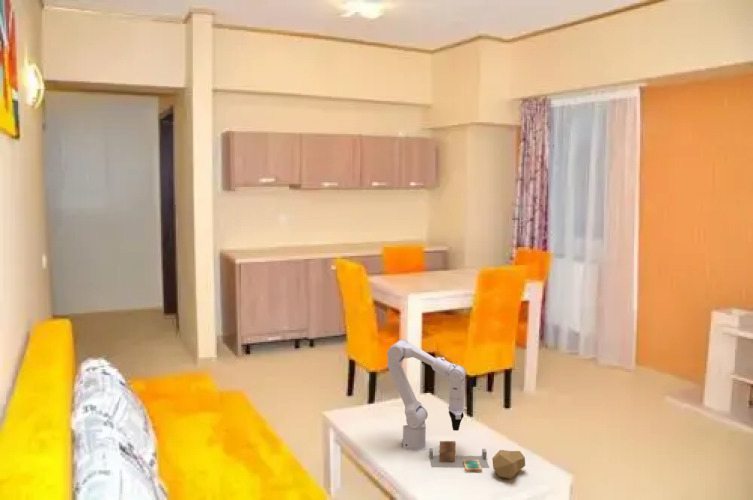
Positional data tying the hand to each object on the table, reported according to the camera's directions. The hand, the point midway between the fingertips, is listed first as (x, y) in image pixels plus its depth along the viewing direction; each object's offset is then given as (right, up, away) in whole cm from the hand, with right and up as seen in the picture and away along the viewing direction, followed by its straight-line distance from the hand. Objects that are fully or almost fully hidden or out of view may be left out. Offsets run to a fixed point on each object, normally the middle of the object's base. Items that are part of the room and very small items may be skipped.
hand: (455, 429), depth 258 cm
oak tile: (+5, -10, -7) cm, 13 cm away
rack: (0, -11, -7) cm, 13 cm away
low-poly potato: (+18, -13, -17) cm, 27 cm away
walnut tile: (-4, -10, -7) cm, 13 cm away
